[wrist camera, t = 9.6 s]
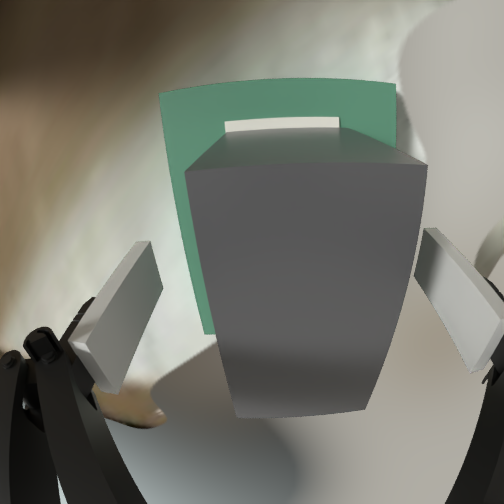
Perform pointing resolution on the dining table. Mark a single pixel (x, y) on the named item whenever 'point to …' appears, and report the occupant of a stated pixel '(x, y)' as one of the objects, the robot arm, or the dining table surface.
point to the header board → (261, 117)
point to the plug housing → (304, 262)
